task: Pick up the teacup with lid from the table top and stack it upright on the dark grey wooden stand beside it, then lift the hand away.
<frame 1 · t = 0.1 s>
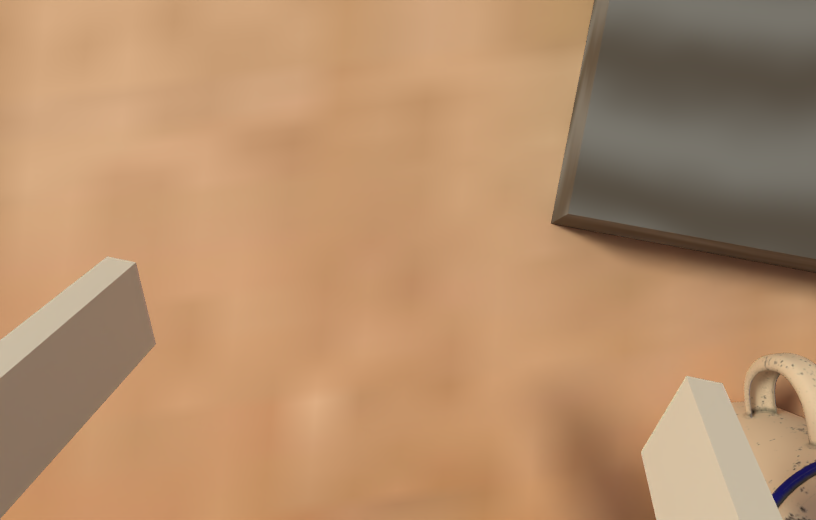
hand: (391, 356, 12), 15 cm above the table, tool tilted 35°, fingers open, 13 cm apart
grey stand: (720, 110, 27), on the table
teacup with lid: (736, 454, 26), on the table
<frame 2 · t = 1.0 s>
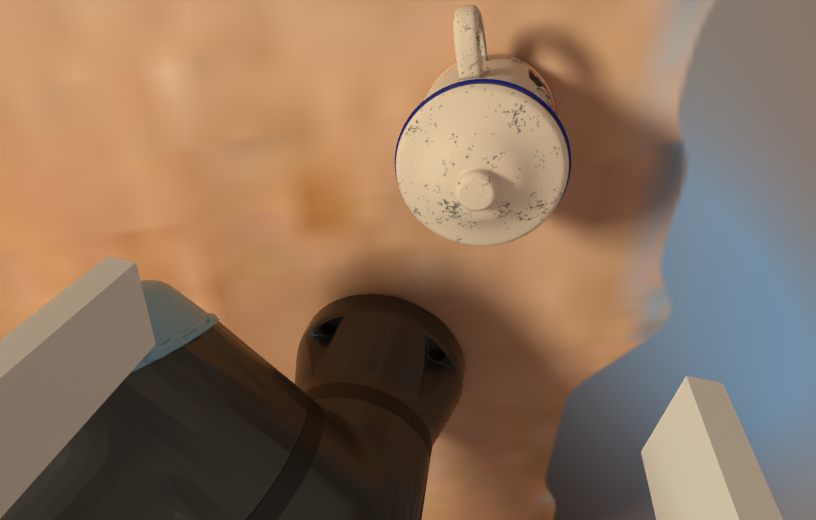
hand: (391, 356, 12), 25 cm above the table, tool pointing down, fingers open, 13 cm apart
teacup with lid: (485, 97, 33), on the table
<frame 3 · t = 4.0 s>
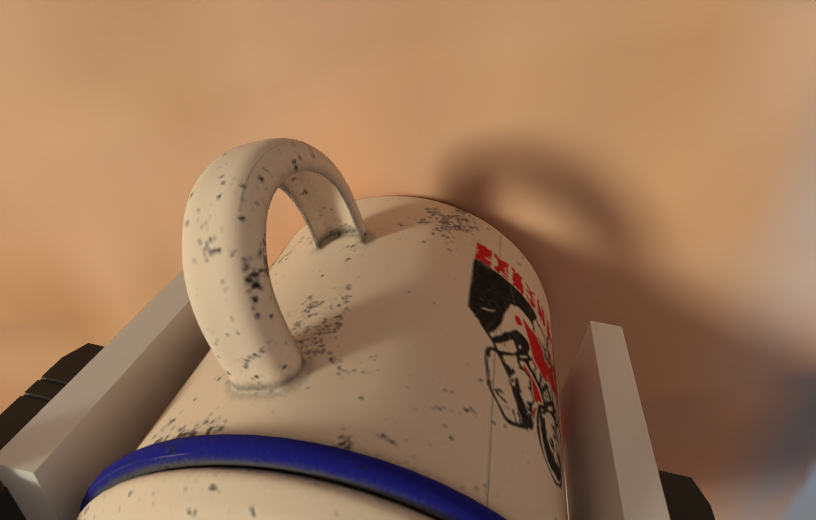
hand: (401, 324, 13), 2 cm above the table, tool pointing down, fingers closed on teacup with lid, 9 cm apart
teacup with lid: (398, 273, 15), on the table, touching gripper
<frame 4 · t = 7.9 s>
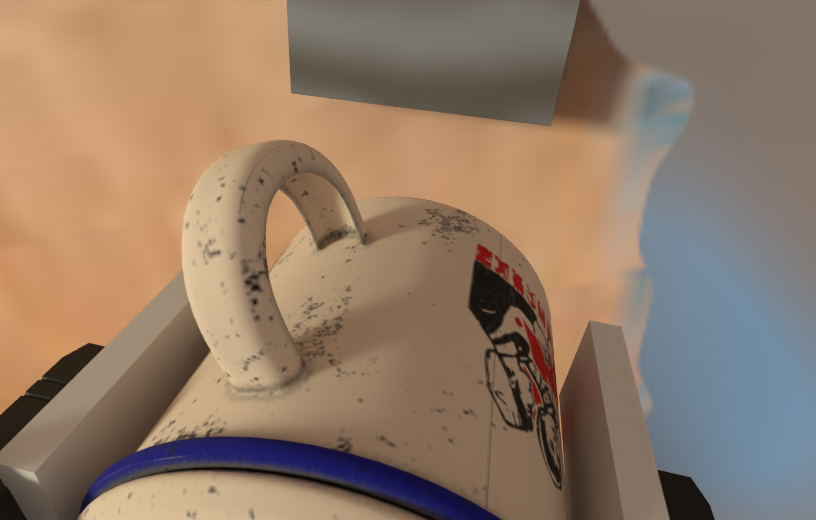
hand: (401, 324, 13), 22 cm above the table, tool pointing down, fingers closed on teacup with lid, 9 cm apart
teacup with lid: (398, 273, 15), point 20 cm above the table, touching gripper
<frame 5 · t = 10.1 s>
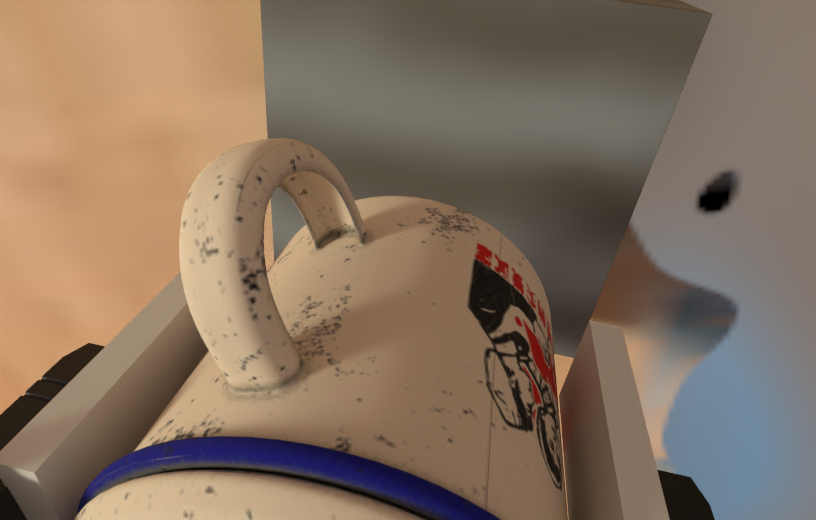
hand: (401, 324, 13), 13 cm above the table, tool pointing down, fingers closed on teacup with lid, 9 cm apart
grey stand: (453, 153, 24), on the table
teacup with lid: (398, 273, 15), point 10 cm above the table, touching gripper
when the fingers open (7 cm above the table, at t = 12.0 s): teacup with lid drops 1 cm, resting on grey stand.
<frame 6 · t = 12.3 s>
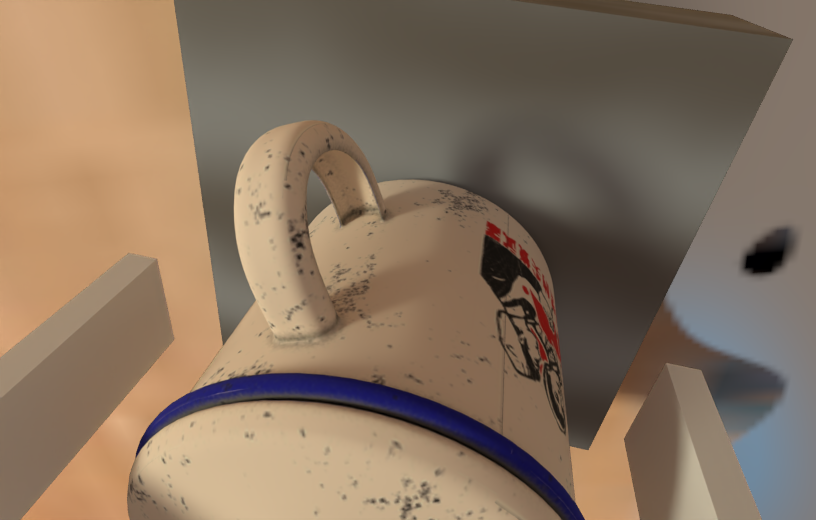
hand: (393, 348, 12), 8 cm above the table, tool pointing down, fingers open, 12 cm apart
grey stand: (439, 200, 19), on the table
teacup with lid: (411, 253, 16), point 4 cm above the table, touching grey stand
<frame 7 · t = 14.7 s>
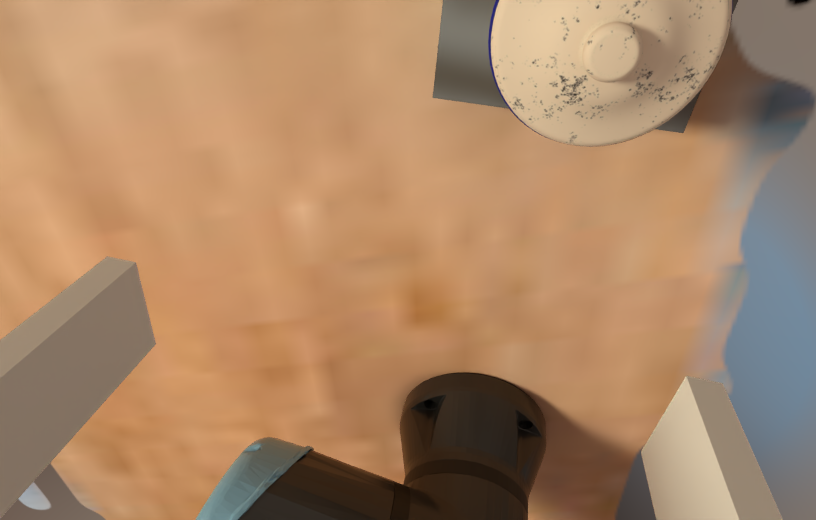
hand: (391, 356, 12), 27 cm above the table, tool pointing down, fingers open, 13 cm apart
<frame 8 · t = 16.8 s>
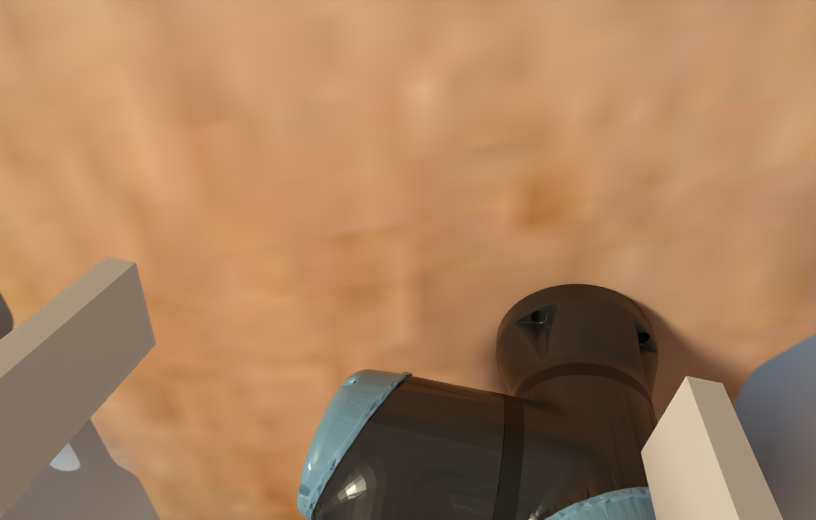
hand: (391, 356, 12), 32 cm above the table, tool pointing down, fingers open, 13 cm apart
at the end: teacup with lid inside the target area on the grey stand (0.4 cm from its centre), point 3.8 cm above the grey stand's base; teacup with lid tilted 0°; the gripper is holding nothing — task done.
